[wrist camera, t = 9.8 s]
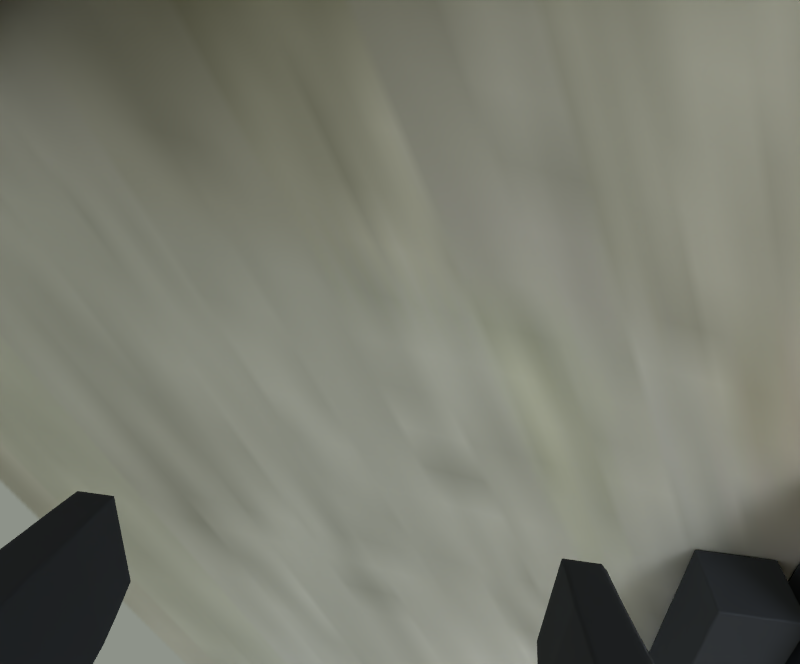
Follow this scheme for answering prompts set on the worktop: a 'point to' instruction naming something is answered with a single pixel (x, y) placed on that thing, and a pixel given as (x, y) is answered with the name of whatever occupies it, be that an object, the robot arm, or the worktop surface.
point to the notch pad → (729, 614)
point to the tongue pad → (799, 584)
